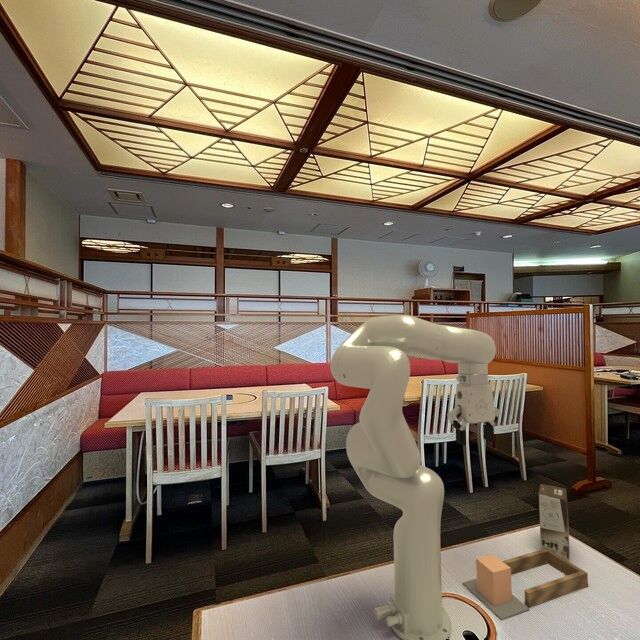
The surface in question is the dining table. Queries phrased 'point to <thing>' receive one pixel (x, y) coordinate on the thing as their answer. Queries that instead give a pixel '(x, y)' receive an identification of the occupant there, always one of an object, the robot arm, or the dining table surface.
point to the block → (494, 579)
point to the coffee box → (554, 520)
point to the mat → (500, 610)
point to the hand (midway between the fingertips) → (475, 442)
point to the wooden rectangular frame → (553, 588)
